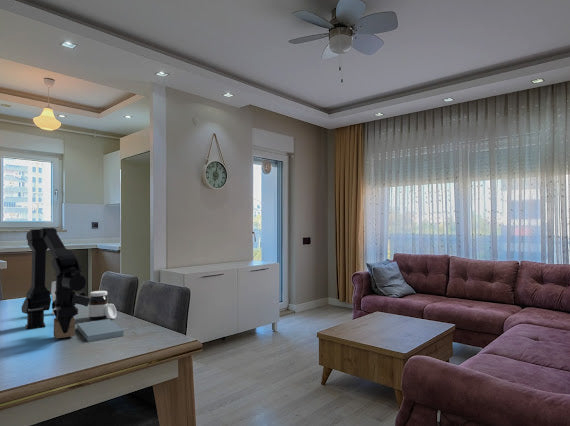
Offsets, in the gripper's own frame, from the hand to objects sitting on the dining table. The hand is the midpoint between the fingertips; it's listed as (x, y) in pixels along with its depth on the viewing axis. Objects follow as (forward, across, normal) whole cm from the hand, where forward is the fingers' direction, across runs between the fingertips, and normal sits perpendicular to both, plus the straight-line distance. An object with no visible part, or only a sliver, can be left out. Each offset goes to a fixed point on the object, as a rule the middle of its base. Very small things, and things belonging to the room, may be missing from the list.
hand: (64, 331), depth 140 cm
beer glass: (+3, +46, -4) cm, 46 cm away
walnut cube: (+2, 0, 0) cm, 2 cm away
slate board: (+2, 0, -12) cm, 12 cm away
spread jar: (+3, +23, -18) cm, 29 cm away
